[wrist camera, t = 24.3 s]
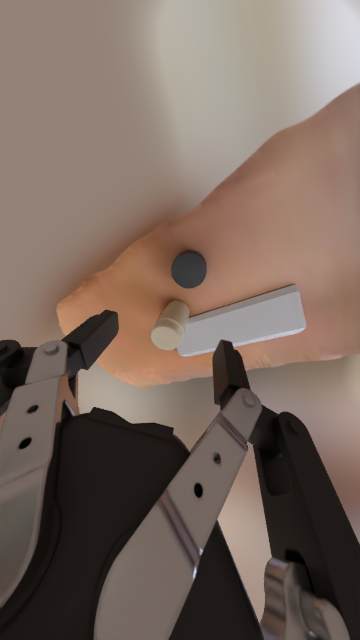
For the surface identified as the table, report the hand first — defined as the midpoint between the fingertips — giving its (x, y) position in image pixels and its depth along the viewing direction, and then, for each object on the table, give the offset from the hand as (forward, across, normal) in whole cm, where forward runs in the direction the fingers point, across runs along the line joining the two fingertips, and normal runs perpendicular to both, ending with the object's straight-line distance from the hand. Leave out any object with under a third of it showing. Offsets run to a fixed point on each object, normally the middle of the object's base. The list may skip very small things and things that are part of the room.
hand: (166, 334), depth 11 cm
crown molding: (+22, -13, +12) cm, 29 cm away
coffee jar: (+22, +1, +12) cm, 25 cm away
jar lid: (+20, 0, 0) cm, 20 cm away
